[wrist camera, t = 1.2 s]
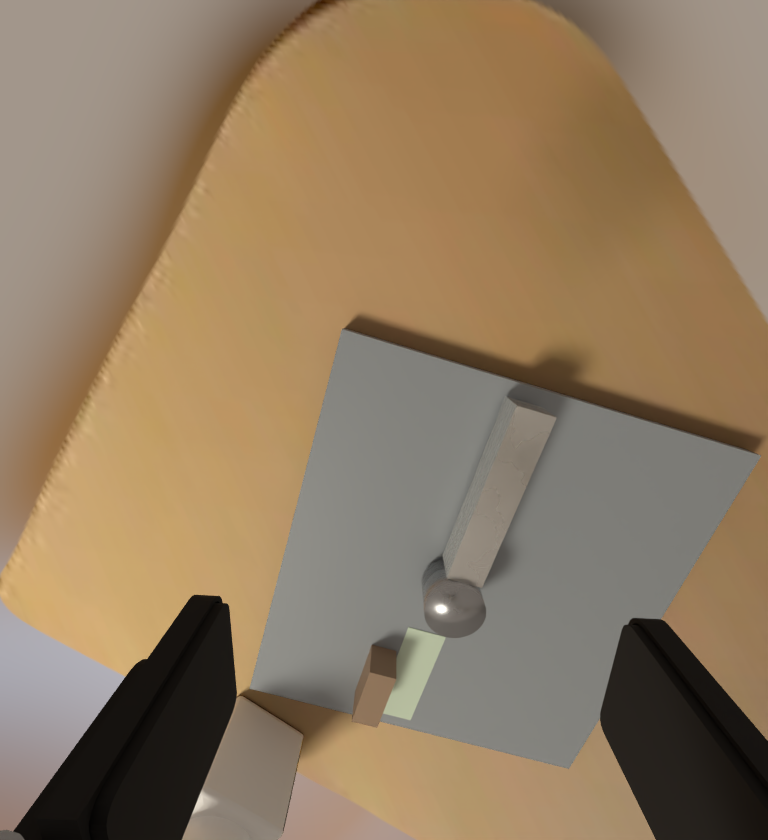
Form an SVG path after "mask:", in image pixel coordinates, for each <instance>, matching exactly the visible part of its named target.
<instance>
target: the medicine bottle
mask: <svg viewBox="0 0 768 840" xmlns="http://www.w3.org/2000/svg"><path fill="white" fill-rule="evenodd" d="M302 743H303V734H302V733H300V732H299V731H297V730H296V729H294V728H292V727H291V726H289V725H288V724H286V723H285V722H283V721H281V720H280V719H278V718H277V717H275V716H273V715H272V714H270V713H269V712H267V711H266V710H264V709H262V708H261V707H259V706H258V705H256V704H254V703H253V702H251V701H250V700H248V699H247V698H245V697H243V696H239V697H237V698H236V702H235V707H234V710H233V713H232V715H231V718H230V720H229V723H228V725H227V728H226V730H225V733H224V735H223V738H222V740H221V743H220V745H219V748H218V750H217V753H216V755H215V758H214V760H213V763H212V765H211V768H210V770H209V773H208V775H207V778H206V780H205V783H204V785H203V788H202V790H201V793H200V795H199V798H198V800H197V803H196V805H195V808H194V810H193V813H192V815H191V818H190V820H189V823H188V825H187V828H186V830H185V833H184V835H183V838H182V840H278V839H279V838H280V837H281V836H282V834H283V831H284V826H285V821H286V817H287V813H288V808H289V803H290V799H291V794H292V789H293V785H294V780H295V775H296V771H297V766H298V762H299V757H300V752H301V748H302Z"/></svg>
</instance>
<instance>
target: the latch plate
mask: <svg viewBox="0 0 768 840" xmlns="http://www.w3.org/2000/svg"><path fill="white" fill-rule="evenodd" d="M505 396H506V397H510V398H513V399H516V400H520V401H523V402H526V403H530V404H533V405H536V406H540V407H542V408H544V409H545V410H547V411H548V412H549V413H551V414H552V415H554V416H555V417H557V419H556V421H555V423H554V425H553V428H552V430H551V432H550V434H549V437H548V439H547V441H546V444H545V446H544V448H543V450H542V453H541V455H540V457H539V459H538V462H537V464H536V466H535V469H534V471H533V473H532V475H531V478H530V480H529V482H528V484H527V487H526V489H525V491H524V494H523V496H522V498H521V500H520V503H519V505H518V507H517V509H516V512H515V514H514V516H513V519H512V521H511V523H510V525H509V528H508V530H507V532H506V534H505V537H504V539H503V541H502V544H501V546H500V548H499V550H498V553H497V555H496V557H495V560H494V562H493V564H492V566H491V569H490V571H489V573H488V575H487V578H486V580H485V582H484V585H483V587H482V588H480V590H481V593H482V596H483V600H484V603H485V607H486V618H485V621H484V623H483V624H482V626H481V627H480V628H479V629H478V630H477V631H476V632H474V633H473V634H471V635H469V636H466V637H462V638H448V637H444V636H441V635H439V634H437V633H435V632H434V631H433V630H432V629H431V628H430V627H429V626H428V625H427V623H426V620H425V616H424V606H423V595H422V583H421V581H422V576H423V573H424V571H425V570H426V569H427V567H428V566H429V565H431V564H432V563H434V562H435V561H438V560H440V559H443V553H444V551H445V548H446V546H447V543H448V540H449V538H450V535H451V533H452V530H453V528H454V525H455V523H456V520H457V518H458V515H459V512H460V510H461V507H462V505H463V502H464V500H465V497H466V495H467V492H468V490H469V487H470V485H471V482H472V479H473V477H474V474H475V472H476V469H477V467H478V464H479V462H480V459H481V457H482V454H483V452H484V449H485V446H486V444H487V441H488V439H489V436H490V434H491V431H492V429H493V426H494V424H495V421H496V418H497V416H498V413H499V411H500V408H501V406H502V403H503V401H504V398H505ZM760 457H761V455H758V454H756V453H753V452H751V451H748V450H746V449H743V448H739V447H736V446H733V445H730V444H726V443H723V442H720V441H716V440H713V439H710V438H706V437H703V436H700V435H696V434H693V433H690V432H687V431H683V430H680V429H677V428H673V427H670V426H667V425H663V424H660V423H657V422H653V421H650V420H647V419H644V418H640V417H637V416H634V415H630V414H627V413H624V412H620V411H617V410H614V409H610V408H607V407H604V406H601V405H597V404H594V403H591V402H587V401H584V400H581V399H577V398H574V397H571V396H567V395H564V394H561V393H558V392H554V391H551V390H548V389H544V388H541V387H538V386H534V385H531V384H528V383H524V382H521V381H518V380H515V379H511V378H508V377H505V376H501V375H498V374H495V373H491V372H488V371H485V370H481V369H478V368H475V367H472V366H468V365H465V364H462V363H458V362H455V361H452V360H448V359H445V358H442V357H438V356H435V355H432V354H429V353H425V352H422V351H419V350H415V349H412V348H409V347H405V346H402V345H399V344H395V343H392V342H389V341H386V340H382V339H379V338H376V337H372V336H369V335H366V334H362V333H359V332H356V331H352V330H349V329H346V328H344V329H342V331H341V335H340V339H339V343H338V347H337V351H336V354H335V358H334V362H333V366H332V370H331V374H330V378H329V382H328V386H327V389H326V393H325V397H324V401H323V405H322V409H321V413H320V417H319V421H318V424H317V428H316V432H315V436H314V440H313V444H312V448H311V452H310V456H309V460H308V463H307V467H306V471H305V475H304V479H303V483H302V487H301V491H300V495H299V498H298V502H297V506H296V510H295V514H294V518H293V522H292V526H291V530H290V533H289V537H288V541H287V545H286V549H285V553H284V557H283V561H282V565H281V569H280V572H279V576H278V580H277V584H276V588H275V592H274V596H273V600H272V604H271V607H270V611H269V615H268V619H267V623H266V627H265V631H264V635H263V639H262V642H261V646H260V650H259V654H258V658H257V662H256V666H255V670H254V674H253V678H252V681H251V685H250V689H253V690H257V691H261V692H265V693H269V694H273V695H277V696H281V697H285V698H289V699H293V700H297V701H301V702H305V703H309V704H313V705H317V706H321V707H325V708H329V709H333V710H337V711H341V712H345V713H349V714H352V722H356V723H360V724H364V725H368V726H372V727H376V728H377V727H378V724H379V722H384V723H388V724H392V725H396V726H400V727H404V728H408V729H412V730H416V731H420V732H424V733H428V734H432V735H436V736H440V737H444V738H448V739H452V740H456V741H460V742H464V743H468V744H472V745H476V746H480V747H484V748H488V749H492V750H496V751H500V752H504V753H508V754H512V755H516V756H520V757H524V758H528V759H532V760H536V761H540V762H544V763H548V764H552V765H556V766H560V767H564V768H568V769H569V768H570V766H571V764H572V763H573V761H574V760H575V758H576V756H577V755H578V753H579V751H580V750H581V748H582V747H583V745H584V743H585V742H586V740H587V738H588V737H589V735H590V733H591V732H592V730H593V729H594V727H595V725H596V724H597V722H598V720H599V719H600V711H601V707H602V704H603V700H604V696H605V692H606V688H607V684H608V681H609V677H610V673H611V669H612V665H613V661H614V658H615V654H616V650H617V646H618V642H619V638H620V635H621V631H622V628H623V626H624V625H628V624H629V621H630V620H631V619H632V618H647V619H661V618H662V616H663V615H664V613H665V612H666V610H667V608H668V607H669V605H670V603H671V602H672V600H673V599H674V597H675V595H676V594H677V592H678V590H679V589H680V587H681V586H682V584H683V582H684V581H685V579H686V577H687V576H688V574H689V573H690V571H691V569H692V568H693V566H694V564H695V563H696V561H697V559H698V558H699V556H700V555H701V553H702V551H703V550H704V548H705V546H706V545H707V543H708V542H709V540H710V538H711V537H712V535H713V533H714V532H715V530H716V529H717V527H718V525H719V524H720V522H721V520H722V519H723V517H724V516H725V514H726V512H727V511H728V509H729V507H730V506H731V504H732V503H733V501H734V499H735V498H736V496H737V494H738V493H739V491H740V490H741V488H742V486H743V485H744V483H745V481H746V480H747V478H748V477H749V475H750V473H751V472H752V470H753V468H754V467H755V465H756V464H757V462H758V460H759V459H760Z"/></svg>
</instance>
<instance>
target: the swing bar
mask: <svg viewBox="0 0 768 840" xmlns="http://www.w3.org/2000/svg"><path fill="white" fill-rule="evenodd" d="M556 419H557V417H555V416H554V415H552V414H551V413H549V412H548V411H547V410H545V409H544V408H542V407H540V406H536V405H533V404H530V403H526V402H523V401H520V400H516V399H513V398H510V397H506V396H505V398H504V401H503V403H502V406H501V408H500V411H499V413H498V416H497V418H496V421H495V424H494V426H493V429H492V431H491V434H490V436H489V439H488V441H487V444H486V446H485V449H484V452H483V454H482V457H481V459H480V462H479V464H478V467H477V469H476V472H475V474H474V477H473V479H472V482H471V485H470V487H469V490H468V492H467V495H466V497H465V500H464V502H463V505H462V507H461V510H460V512H459V515H458V518H457V520H456V523H455V525H454V528H453V530H452V533H451V535H450V538H449V540H448V543H447V546H446V548H445V551H444V553H443V559H440V560H438V561H435V562H434V563H432V564H431V565H429V566H428V567H427V569H426V570H425V571H424V573H423V576H422V581H421V583H422V595H423V606H424V616H425V620H426V623H427V625H428V626H429V627H430V628H431V629H432V630H433V631H434V632H435V633H437V634H439V635H441V636H444V637H448V638H462V637H466V636H469V635H471V634H473V633H474V632H476V631H477V630H478V629H479V628H480V627H481V626H482V624H483V623H484V621H485V618H486V607H485V603H484V600H483V596H482V593H481V590H480V588H482V587H483V585H484V582H485V580H486V578H487V575H488V573H489V571H490V569H491V566H492V564H493V562H494V560H495V557H496V555H497V553H498V550H499V548H500V546H501V544H502V541H503V539H504V537H505V534H506V532H507V530H508V528H509V525H510V523H511V521H512V519H513V516H514V514H515V512H516V509H517V507H518V505H519V503H520V500H521V498H522V496H523V494H524V491H525V489H526V487H527V484H528V482H529V480H530V478H531V475H532V473H533V471H534V469H535V466H536V464H537V462H538V459H539V457H540V455H541V453H542V450H543V448H544V446H545V444H546V441H547V439H548V437H549V434H550V432H551V430H552V428H553V425H554V423H555V421H556Z"/></svg>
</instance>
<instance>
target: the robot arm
mask: <svg viewBox="0 0 768 840" xmlns="http://www.w3.org/2000/svg"><path fill="white" fill-rule="evenodd" d="M236 696H237V690H236V679H235V668H234V656H233V645H232V634H231V623H230V612H229V605H228V604H226V603H222V599H221V597H220V596H207V595H194V596H192V597H191V598H190V599H189V600H188V602H187V603H186V605H185V606H184V608H183V609H182V610H181V612H180V613H179V615H178V616H177V618H176V619H175V620H174V622H173V623H172V625H171V626H170V628H169V629H168V630H167V632H166V633H165V635H164V636H163V637H162V639H161V640H160V642H159V643H158V645H157V646H156V647H155V649H154V650H153V652H152V653H151V655H150V656H149V657H148V659H143V660H141V661H140V662H138V663H137V664H136V665H135V666H134V667H133V668H132V669H131V670H130V672H129V673H128V674H127V676H126V677H125V678H124V680H123V681H122V683H121V684H120V685H119V687H118V688H117V690H116V691H115V692H114V694H113V695H112V696H111V698H110V699H109V701H108V702H107V703H106V705H105V706H104V707H103V709H102V710H101V712H100V713H99V714H98V716H97V717H96V718H95V720H94V721H93V723H92V724H91V725H90V727H89V728H88V729H87V731H86V732H85V733H84V735H83V736H82V738H81V739H80V740H79V742H78V743H77V744H76V746H75V747H74V749H73V750H72V751H71V753H70V754H69V755H68V757H67V758H66V760H65V761H64V763H63V764H62V765H61V767H60V768H59V769H58V771H57V772H56V773H55V775H54V776H53V778H52V779H51V780H50V782H49V783H48V785H47V786H46V787H45V789H44V790H43V791H42V793H41V794H40V796H39V797H38V798H37V800H36V801H35V802H34V804H33V805H32V806H31V808H30V809H29V811H28V812H27V813H26V815H25V816H24V817H23V819H22V820H21V822H20V823H19V824H18V826H17V827H16V828H15V830H14V831H13V832H12V831H9V830H2V831H0V840H182V838H183V835H184V833H185V830H186V828H187V825H188V823H189V820H190V818H191V815H192V813H193V810H194V808H195V805H196V803H197V800H198V798H199V795H200V793H201V790H202V788H203V785H204V783H205V780H206V778H207V775H208V773H209V770H210V768H211V765H212V763H213V760H214V758H215V755H216V753H217V750H218V748H219V745H220V743H221V740H222V738H223V735H224V733H225V730H226V728H227V725H228V723H229V720H230V718H231V715H232V713H233V710H234V707H235V702H236ZM600 721H601V726H602V729H603V732H604V734H605V736H606V738H607V740H608V742H609V744H610V747H611V749H612V751H613V753H614V755H615V757H616V759H617V761H618V763H619V765H620V767H621V769H622V771H623V773H624V775H625V777H626V779H627V781H628V783H629V785H630V787H631V790H632V792H633V794H634V796H635V798H636V800H637V802H638V804H639V806H640V808H641V810H642V812H643V814H644V816H645V818H646V820H647V822H648V824H649V826H650V828H651V830H652V833H653V835H654V837H655V839H656V840H768V741H767V740H766V739H765V737H764V736H763V735H762V734H761V733H760V731H759V730H758V729H757V728H756V727H755V726H754V724H753V723H752V722H751V721H750V720H749V719H748V717H747V716H746V715H745V714H744V713H743V712H742V710H741V709H740V708H739V707H738V706H737V705H736V703H735V702H734V701H733V700H732V699H731V698H730V696H729V695H728V694H727V693H726V692H725V691H724V689H723V688H722V687H721V686H720V685H719V684H718V682H717V681H716V680H715V679H714V678H713V677H712V675H711V674H710V673H709V672H708V671H707V670H706V668H705V667H704V666H703V665H702V664H701V663H700V661H699V660H698V659H697V658H696V657H695V656H694V654H693V653H692V652H691V651H690V650H689V649H688V647H687V646H686V645H685V644H684V643H683V642H682V640H681V639H680V638H679V637H678V636H677V635H676V633H675V632H674V631H673V630H672V629H671V627H670V626H669V625H668V624H667V623H666V622H665V621H663V620H661V619H647V618H632V619H631V620H630V621H629V624H628V625H624V626H623V628H622V631H621V635H620V638H619V642H618V646H617V650H616V654H615V658H614V661H613V665H612V669H611V673H610V677H609V681H608V684H607V688H606V692H605V696H604V700H603V704H602V707H601V711H600Z"/></svg>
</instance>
